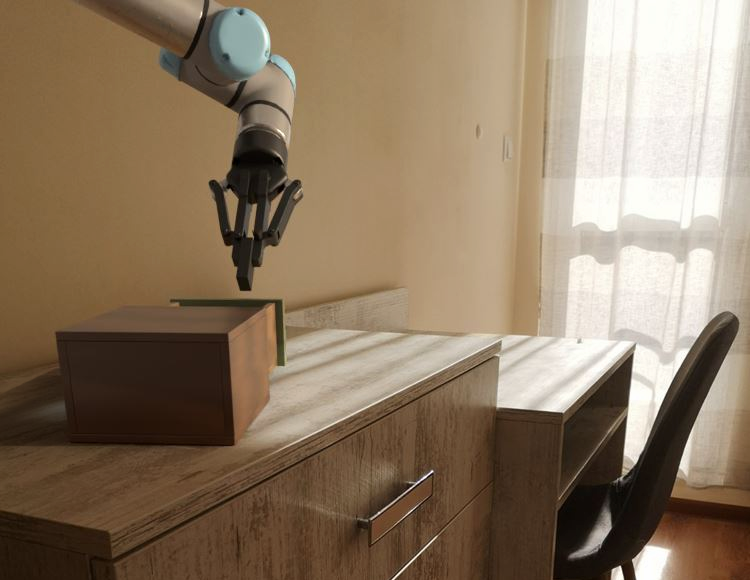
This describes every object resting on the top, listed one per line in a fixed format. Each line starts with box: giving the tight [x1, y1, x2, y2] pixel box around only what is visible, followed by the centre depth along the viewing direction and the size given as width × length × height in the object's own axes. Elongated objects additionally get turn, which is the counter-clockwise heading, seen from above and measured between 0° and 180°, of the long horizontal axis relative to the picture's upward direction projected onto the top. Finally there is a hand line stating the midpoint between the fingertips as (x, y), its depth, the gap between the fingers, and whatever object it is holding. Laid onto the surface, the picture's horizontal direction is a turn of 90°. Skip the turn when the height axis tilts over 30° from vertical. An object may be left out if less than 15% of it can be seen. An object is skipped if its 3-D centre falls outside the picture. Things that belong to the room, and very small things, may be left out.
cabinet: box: [54, 305, 271, 446], centre depth 77 cm, size 17×15×10 cm
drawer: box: [164, 297, 288, 375], centre depth 93 cm, size 20×13×8 cm
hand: (243, 284), depth 105 cm, fingers closed
